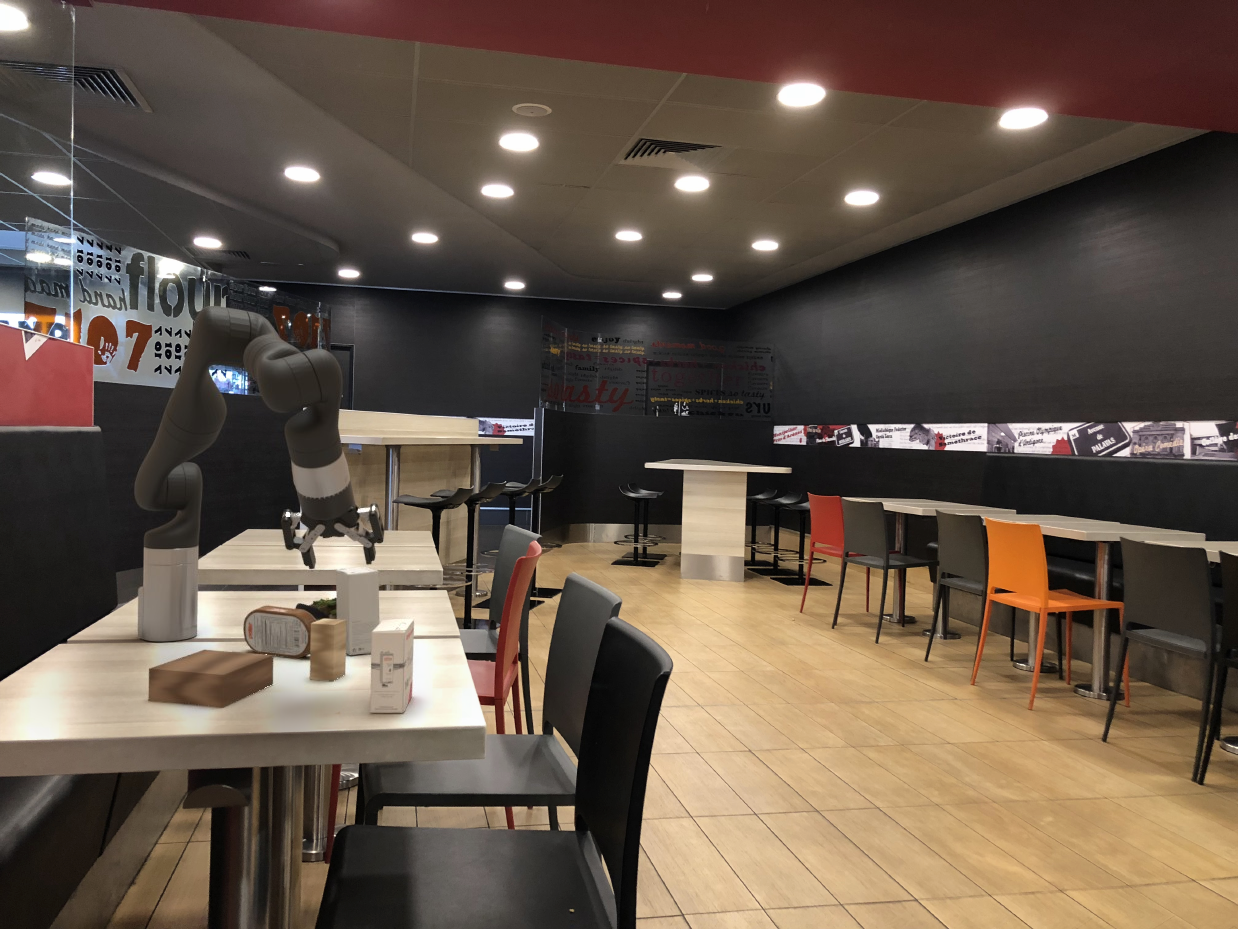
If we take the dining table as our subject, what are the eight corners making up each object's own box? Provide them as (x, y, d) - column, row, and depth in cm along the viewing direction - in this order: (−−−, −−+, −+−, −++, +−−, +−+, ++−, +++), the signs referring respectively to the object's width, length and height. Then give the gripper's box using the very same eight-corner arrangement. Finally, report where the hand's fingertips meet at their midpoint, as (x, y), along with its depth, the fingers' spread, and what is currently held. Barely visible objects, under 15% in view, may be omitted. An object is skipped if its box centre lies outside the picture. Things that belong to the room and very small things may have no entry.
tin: (321, 658, 150) (322, 610, 149) (309, 662, 147) (310, 613, 146) (252, 649, 154) (253, 603, 154) (239, 653, 151) (240, 605, 151)
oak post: (309, 679, 136) (310, 623, 135) (322, 673, 139) (323, 618, 139) (333, 681, 135) (334, 624, 135) (345, 675, 139) (346, 620, 139)
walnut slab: (148, 703, 123) (149, 668, 122) (203, 681, 134) (204, 649, 134) (222, 710, 120) (223, 675, 120) (272, 687, 132) (273, 655, 132)
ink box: (380, 696, 128) (382, 617, 128) (413, 696, 128) (415, 617, 128) (368, 714, 119) (370, 630, 119) (404, 714, 120) (406, 630, 119)
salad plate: (289, 610, 192) (290, 590, 192) (372, 609, 196) (372, 589, 195) (274, 629, 173) (274, 606, 173) (366, 627, 177) (366, 605, 177)
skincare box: (380, 653, 154) (382, 571, 153) (346, 657, 150) (348, 573, 150) (366, 643, 161) (367, 565, 160) (333, 647, 157) (335, 566, 157)
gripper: (375, 461, 126) (390, 544, 136) (275, 467, 125) (297, 550, 134) (371, 492, 120) (386, 576, 130) (266, 499, 119) (289, 584, 128)
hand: (341, 563), depth 132 cm, fingers open, 8 cm apart
